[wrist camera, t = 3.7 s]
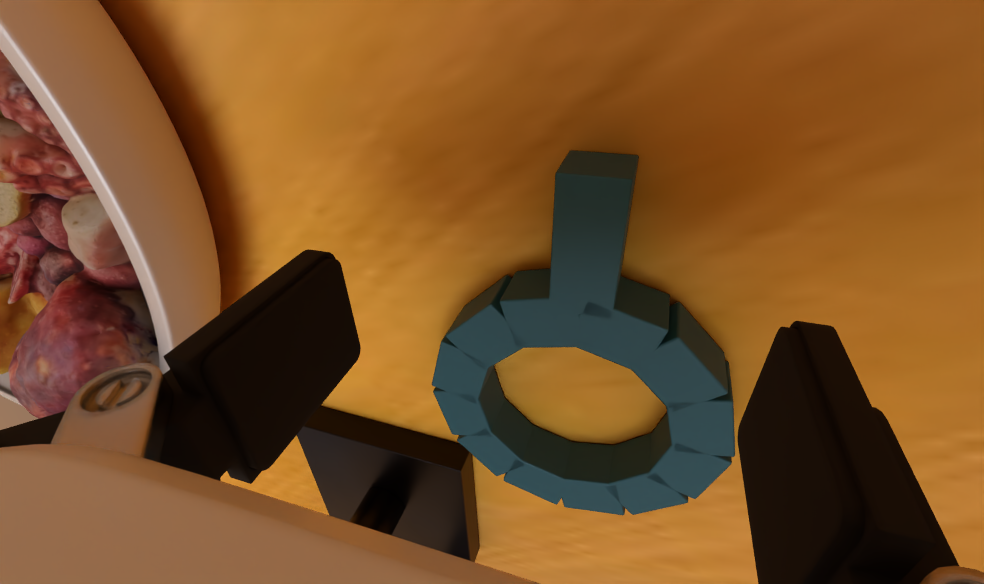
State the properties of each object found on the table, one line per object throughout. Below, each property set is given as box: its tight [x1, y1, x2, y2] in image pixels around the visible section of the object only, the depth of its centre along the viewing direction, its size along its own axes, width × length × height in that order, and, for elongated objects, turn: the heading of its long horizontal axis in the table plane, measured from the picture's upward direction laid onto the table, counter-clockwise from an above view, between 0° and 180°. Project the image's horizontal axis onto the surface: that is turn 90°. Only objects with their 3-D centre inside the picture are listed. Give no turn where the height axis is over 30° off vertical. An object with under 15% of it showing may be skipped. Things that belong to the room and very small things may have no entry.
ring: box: [432, 150, 735, 515], centre depth 17 cm, size 15×11×2 cm
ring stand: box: [297, 406, 479, 562], centre depth 24 cm, size 10×10×10 cm
